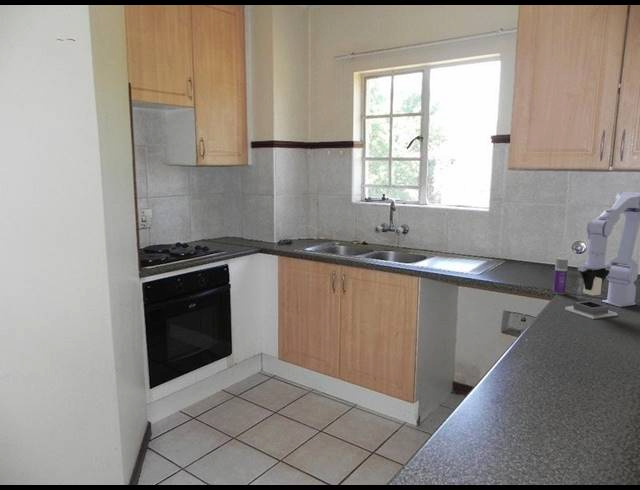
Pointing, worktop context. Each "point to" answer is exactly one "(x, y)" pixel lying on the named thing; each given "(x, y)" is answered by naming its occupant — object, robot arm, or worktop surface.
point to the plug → (594, 287)
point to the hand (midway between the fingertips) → (592, 289)
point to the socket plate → (591, 309)
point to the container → (560, 276)
